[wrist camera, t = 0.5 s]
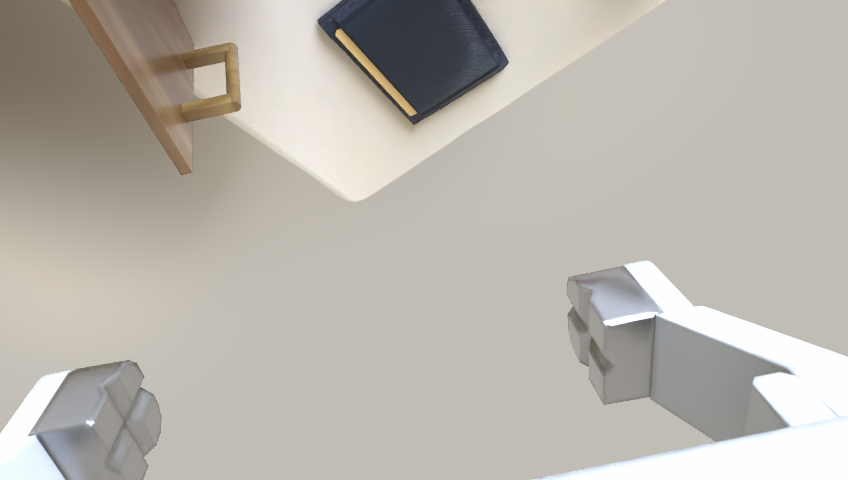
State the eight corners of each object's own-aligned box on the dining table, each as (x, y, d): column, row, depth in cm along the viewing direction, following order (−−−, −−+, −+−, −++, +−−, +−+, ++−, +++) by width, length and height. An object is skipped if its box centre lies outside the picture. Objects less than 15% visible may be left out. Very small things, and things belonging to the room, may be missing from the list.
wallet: (514, 71, 70) (412, 133, 74) (509, 62, 71) (408, 124, 76) (439, -62, 55) (316, 26, 59) (434, -71, 56) (314, 16, 60)
